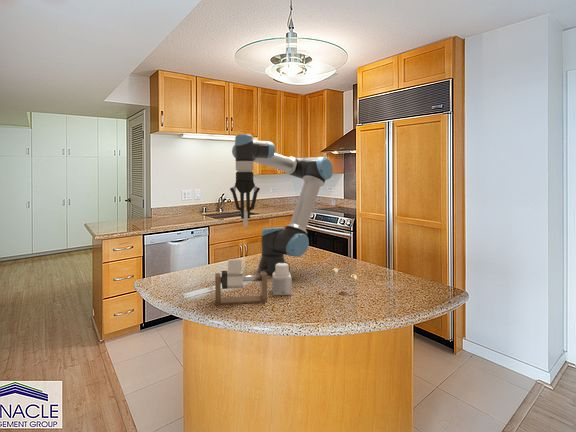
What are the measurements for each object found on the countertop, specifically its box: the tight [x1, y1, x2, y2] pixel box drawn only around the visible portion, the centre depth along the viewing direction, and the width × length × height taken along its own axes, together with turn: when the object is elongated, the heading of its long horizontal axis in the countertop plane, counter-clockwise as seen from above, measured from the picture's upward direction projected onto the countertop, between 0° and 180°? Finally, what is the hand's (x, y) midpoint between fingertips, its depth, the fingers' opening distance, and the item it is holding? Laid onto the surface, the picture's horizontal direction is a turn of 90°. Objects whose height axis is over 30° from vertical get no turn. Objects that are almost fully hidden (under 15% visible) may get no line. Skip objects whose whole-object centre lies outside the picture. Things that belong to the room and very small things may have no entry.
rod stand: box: [214, 271, 268, 306], centre depth 136 cm, size 20×6×11 cm, turn 102°
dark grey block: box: [221, 270, 228, 290], centre depth 135 cm, size 2×6×6 cm, turn 12°
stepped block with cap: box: [226, 258, 244, 290], centre depth 135 cm, size 6×6×11 cm
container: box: [271, 261, 293, 296], centre depth 148 cm, size 8×8×13 cm
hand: (245, 225), depth 150 cm, fingers closed
